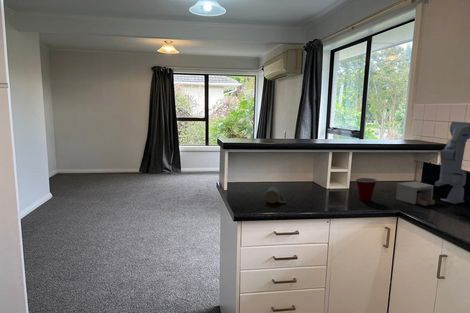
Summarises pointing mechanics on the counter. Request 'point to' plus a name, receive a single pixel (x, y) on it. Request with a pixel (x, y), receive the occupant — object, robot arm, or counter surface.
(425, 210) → the counter surface
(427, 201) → the beige bumpy block
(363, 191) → the plastic cup
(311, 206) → the counter surface
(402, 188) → the grey rectangular box
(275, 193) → the ceramic mug
